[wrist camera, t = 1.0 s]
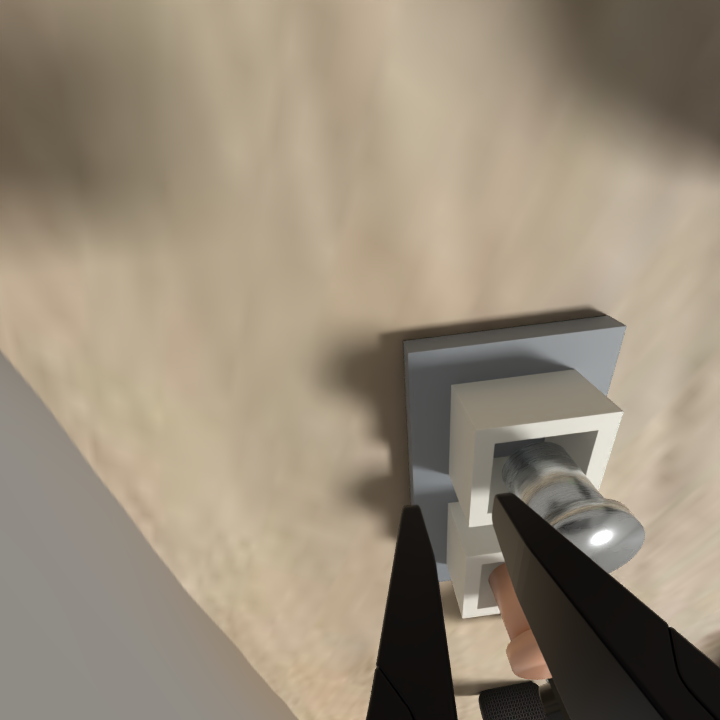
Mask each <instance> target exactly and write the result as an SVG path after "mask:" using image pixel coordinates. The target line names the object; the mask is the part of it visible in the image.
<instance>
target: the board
mask: <svg viewBox="0 0 720 720" xmlns="http://www.w3.org/2000/svg"><path fill="white" fill-rule="evenodd" d="M625 330H626V325H624V324H622V323H621V322H619V321H617V320H615V319H614V318H612V317H610V316H600V317H592V318H584V319H576V320H568V321H560V322H552V323H544V324H536V325H528V326H520V327H512V328H504V329H496V330H488V331H479V332H471V333H463V334H455V335H447V336H439V337H431V338H423V339H415V340H407V341H403V348H404V370H405V391H406V412H407V434H408V455H409V477H410V498H411V505H419V506H420V508H421V511H422V514H423V517H424V521H425V524H426V527H427V531H428V534H429V537H430V540H431V544H432V547H433V551H434V555H435V560H436V565H437V573H438V580H439V582H442V581H449V580H451V581H452V585H453V588H454V592H455V595H456V599H457V602H458V605H459V609H460V612H461V616H462V619H463V618H470V617H478V616H485V615H492V614H499V613H500V611H499V608H498V606H497V603H496V600H495V598H494V595H493V592H492V590H491V587H490V584H489V581H488V579H489V575H490V574H491V572H492V571H493V570H494V569H495V568H496V567H498V566H499V565H501V564H503V563H505V561H504V558H503V555H502V552H501V548H500V545H499V542H498V539H497V536H496V533H495V530H494V527H493V523H492V510H493V501H494V496H495V495H496V494H500V493H508V492H509V491H508V489H507V487H506V485H505V483H504V481H503V479H502V469H503V466H504V464H505V462H506V461H507V460H508V458H509V457H510V456H511V455H512V454H514V453H515V452H516V451H518V450H519V449H521V448H523V447H525V446H527V445H530V444H533V443H538V442H552V443H556V444H558V445H560V446H562V447H563V448H564V449H565V450H566V452H567V453H568V454H569V455H570V457H571V458H572V459H573V460H574V462H575V463H576V464H577V465H578V467H579V468H580V469H581V470H582V472H583V473H584V474H585V475H586V477H587V478H588V479H589V480H590V482H591V483H592V484H593V485H594V486H595V488H596V489H597V490H598V491H599V488H600V485H601V481H602V478H603V475H604V472H605V469H606V466H607V462H608V459H609V456H610V453H611V450H612V447H613V443H614V440H615V437H616V434H617V431H618V428H619V424H620V421H621V418H622V415H623V412H624V411H623V410H621V409H620V408H619V407H618V406H617V405H616V404H614V403H613V402H612V401H611V400H610V399H609V398H608V397H607V394H608V390H609V387H610V383H611V380H612V376H613V373H614V369H615V366H616V362H617V358H618V355H619V351H620V348H621V344H622V341H623V337H624V334H625Z"/></svg>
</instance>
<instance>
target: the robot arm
mask: <svg viewBox="0 0 720 720" xmlns="http://www.w3.org/2000/svg"><path fill="white" fill-rule="evenodd" d="M492 523H493V527H494V530H495V533H496V536H497V539H498V542H499V545H500V548H501V552H502V555H503V558H504V561H505V564H506V567H507V570H508V573H509V576H510V579H511V582H512V585H513V588H514V591H515V593H516V596H517V598H518V601H519V603H520V606H521V608H522V610H523V612H524V615H525V617H526V619H527V621H528V624H529V626H530V628H531V630H532V633H533V635H534V637H535V640H536V642H537V644H538V646H539V649H540V651H541V653H542V655H543V658H544V660H545V662H546V664H547V667H548V669H549V671H550V674H551V676H552V678H553V680H554V683H555V685H556V687H557V689H558V692H559V694H560V696H561V699H562V701H563V703H564V705H565V708H566V710H567V712H568V714H569V717H570V719H571V720H720V667H719V666H718V665H717V664H716V663H715V662H713V661H712V660H711V659H710V658H708V657H707V656H706V655H705V654H704V653H702V652H701V651H700V650H699V649H697V648H696V647H695V646H694V645H693V644H691V643H690V642H689V641H688V640H687V639H686V638H684V637H683V636H682V635H681V634H680V633H678V632H677V631H676V630H675V629H674V628H672V627H669V626H668V624H667V623H666V622H665V621H664V620H663V619H662V618H660V617H659V616H658V615H657V614H656V613H655V612H653V611H652V610H651V609H650V608H649V607H647V606H646V605H645V604H644V603H643V602H642V601H640V600H639V599H638V598H637V597H636V596H634V595H633V594H632V593H631V592H630V591H629V590H627V589H626V588H625V587H624V586H623V585H621V584H620V583H619V582H618V581H617V580H616V579H614V578H613V577H612V576H611V575H610V574H608V573H607V572H606V571H605V570H604V569H603V568H601V567H600V566H599V565H598V564H597V563H595V562H594V561H593V560H592V559H591V558H590V557H588V556H587V555H586V554H585V553H584V552H583V551H581V550H580V549H579V548H578V547H577V546H575V545H574V544H573V543H572V542H571V541H570V540H568V539H567V538H566V537H565V536H564V535H562V534H561V533H560V532H559V531H558V530H557V529H555V528H554V527H553V526H552V525H551V524H549V523H548V522H547V521H546V520H545V519H544V518H542V517H541V516H540V515H539V514H538V513H536V512H535V511H534V510H533V509H532V508H531V507H529V506H528V505H527V504H526V503H525V502H523V501H522V500H521V499H520V498H519V497H518V496H516V495H515V494H513V493H511V492H508V493H500V494H496V495H495V496H494V501H493V510H492ZM376 666H377V668H376V669H375V673H374V679H373V685H372V691H371V696H370V702H369V707H368V712H367V717H366V720H458V718H457V711H456V703H455V696H454V689H453V682H452V674H451V667H450V660H449V653H448V645H447V638H446V631H445V624H444V616H443V609H442V602H441V595H440V587H439V580H438V573H437V565H436V560H435V555H434V551H433V547H432V544H431V540H430V537H429V534H428V531H427V527H426V524H425V521H424V517H423V514H422V511H421V508H420V506H419V505H409V506H404V507H403V508H402V513H401V519H400V525H399V531H398V537H397V543H396V549H395V555H394V561H393V567H392V573H391V579H390V585H389V591H388V597H387V603H386V609H385V615H384V621H383V627H382V633H381V639H380V644H379V650H378V656H377V662H376Z"/></svg>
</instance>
